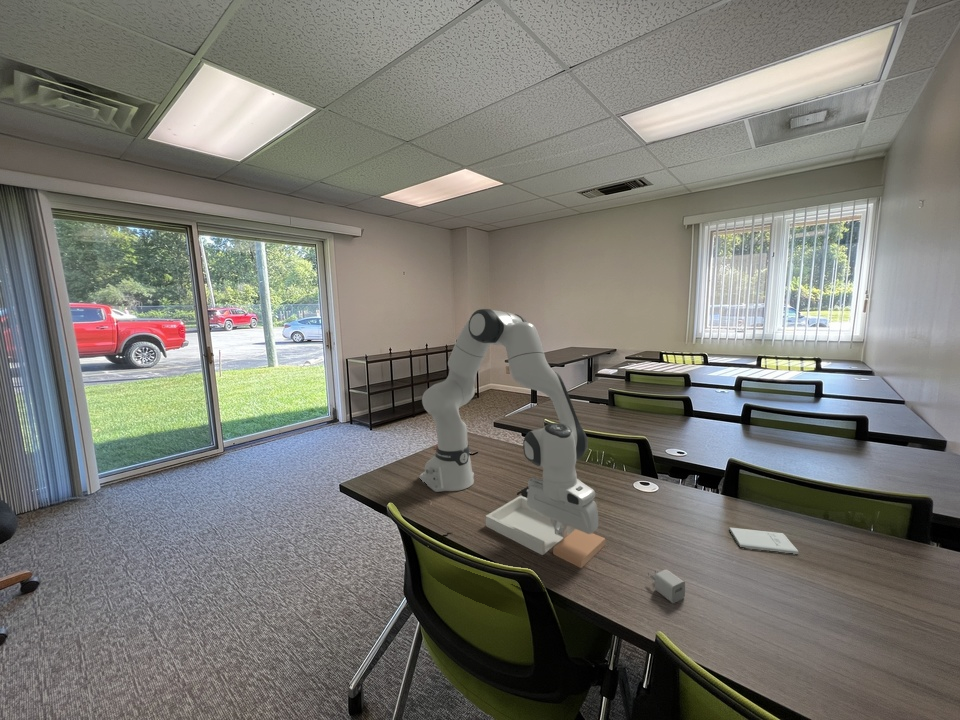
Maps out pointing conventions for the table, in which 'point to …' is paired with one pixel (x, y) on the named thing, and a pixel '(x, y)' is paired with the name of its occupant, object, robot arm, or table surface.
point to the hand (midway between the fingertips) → (561, 535)
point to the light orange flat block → (579, 547)
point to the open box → (524, 526)
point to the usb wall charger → (669, 585)
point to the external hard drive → (763, 540)
